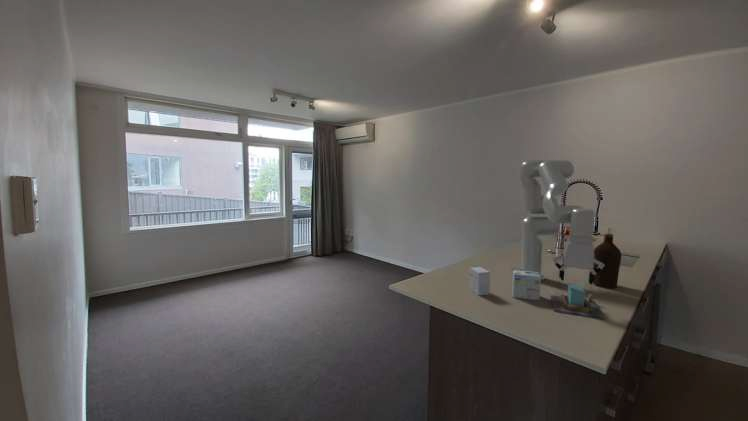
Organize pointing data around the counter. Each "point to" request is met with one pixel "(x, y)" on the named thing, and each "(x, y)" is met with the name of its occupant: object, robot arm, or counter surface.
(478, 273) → the small box
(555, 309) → the board
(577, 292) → the teal block
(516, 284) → the light bulb box
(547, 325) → the counter surface
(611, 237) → the olive oil
